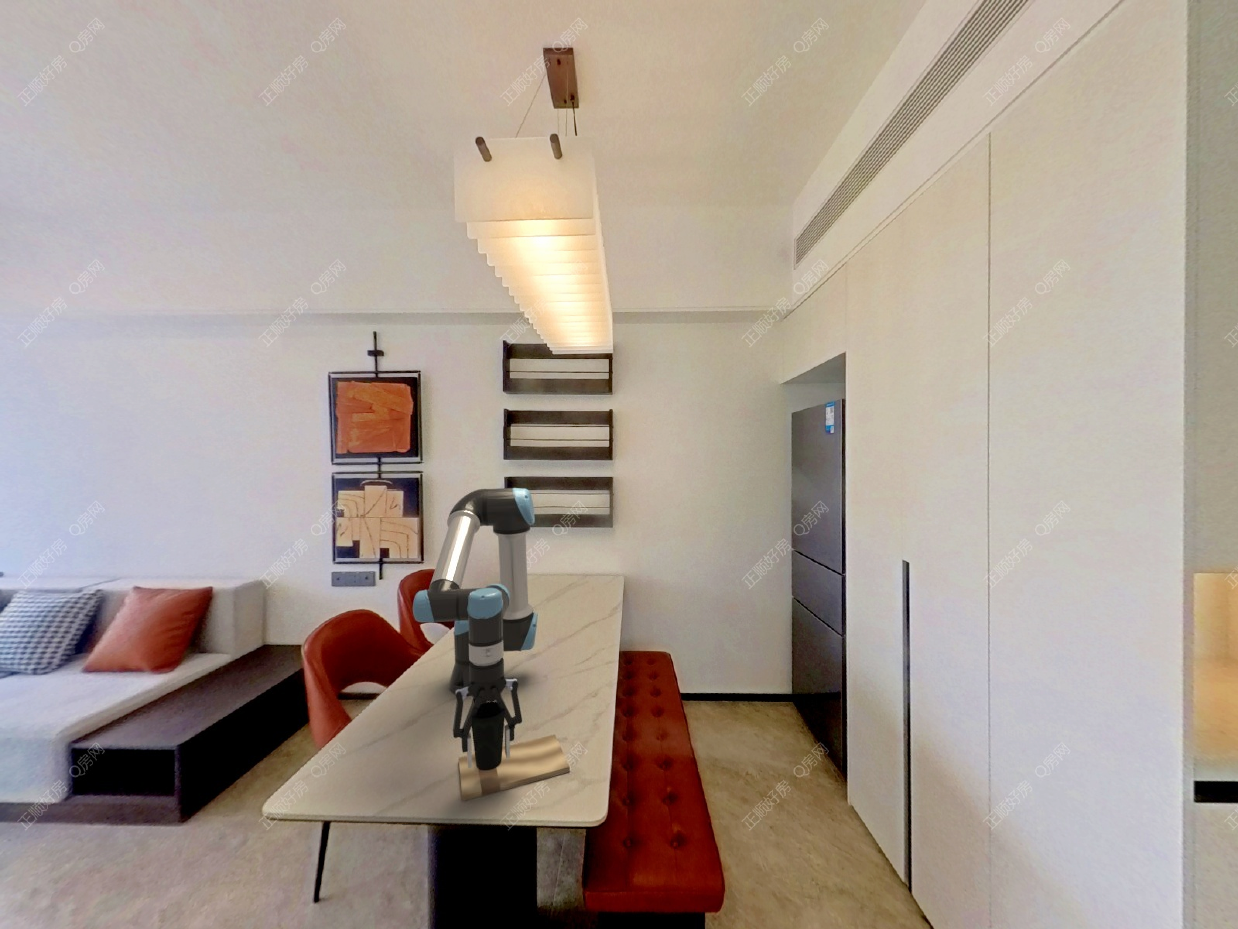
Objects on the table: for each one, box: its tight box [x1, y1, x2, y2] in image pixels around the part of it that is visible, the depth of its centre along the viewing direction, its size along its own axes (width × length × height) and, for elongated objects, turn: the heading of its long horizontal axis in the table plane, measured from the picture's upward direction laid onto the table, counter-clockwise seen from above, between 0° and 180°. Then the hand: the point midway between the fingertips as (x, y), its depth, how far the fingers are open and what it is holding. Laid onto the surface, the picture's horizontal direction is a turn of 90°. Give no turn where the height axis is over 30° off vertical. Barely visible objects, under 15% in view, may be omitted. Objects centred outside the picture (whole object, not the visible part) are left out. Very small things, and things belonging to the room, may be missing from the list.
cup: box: [471, 701, 505, 771], centre depth 107 cm, size 8×8×12 cm
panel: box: [458, 733, 571, 802], centre depth 113 cm, size 14×24×1 cm, turn 112°
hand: (488, 759), depth 107 cm, fingers closed on cup, 8 cm apart
